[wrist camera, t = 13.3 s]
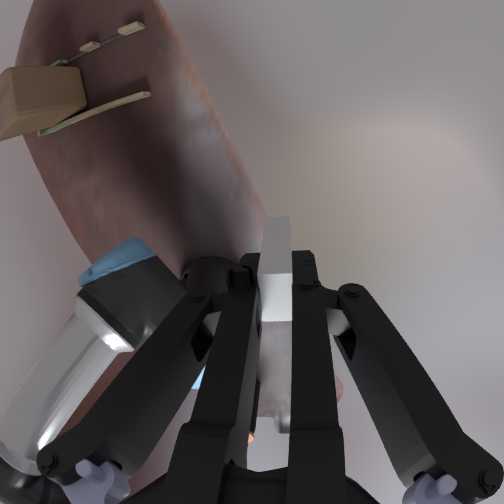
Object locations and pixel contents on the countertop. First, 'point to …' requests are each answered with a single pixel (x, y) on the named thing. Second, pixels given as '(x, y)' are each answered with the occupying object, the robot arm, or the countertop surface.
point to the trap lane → (87, 48)
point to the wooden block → (38, 98)
